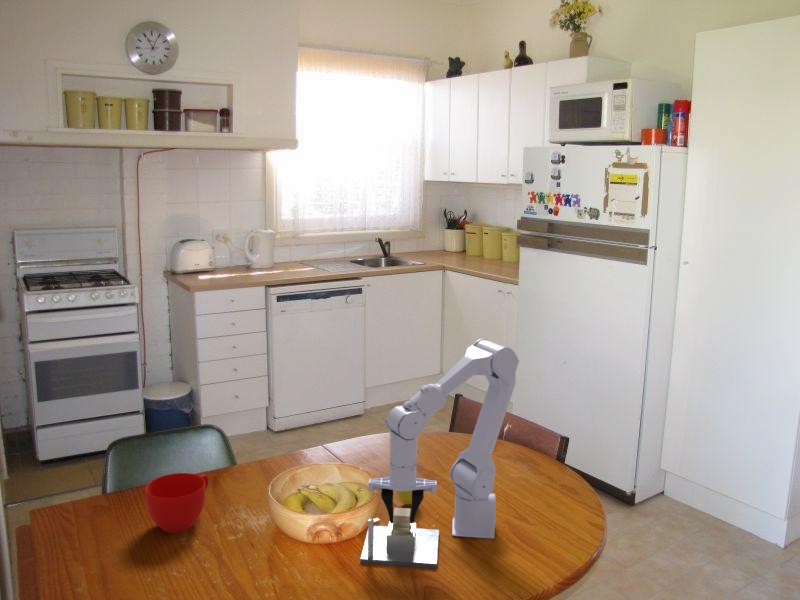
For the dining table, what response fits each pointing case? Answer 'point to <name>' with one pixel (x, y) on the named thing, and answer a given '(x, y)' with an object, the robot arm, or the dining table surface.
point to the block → (401, 520)
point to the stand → (400, 546)
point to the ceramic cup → (176, 500)
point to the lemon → (405, 496)
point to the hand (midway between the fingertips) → (401, 521)
